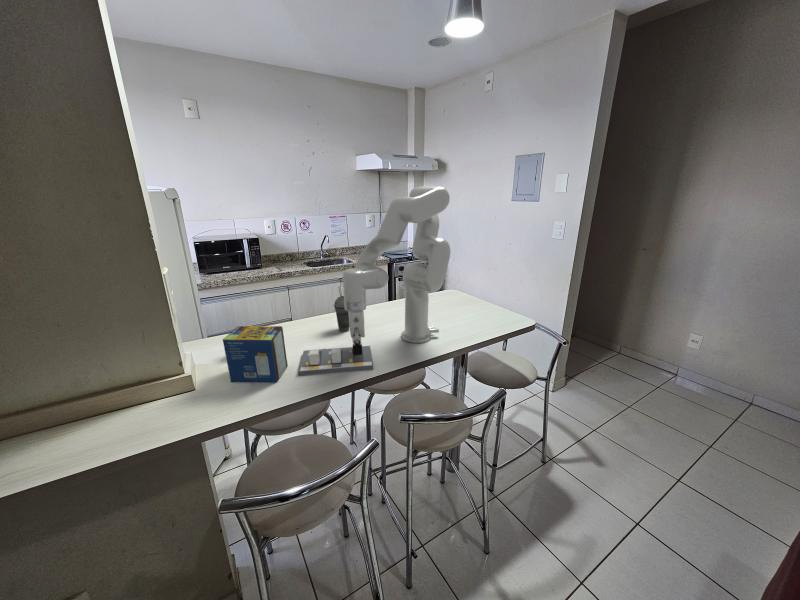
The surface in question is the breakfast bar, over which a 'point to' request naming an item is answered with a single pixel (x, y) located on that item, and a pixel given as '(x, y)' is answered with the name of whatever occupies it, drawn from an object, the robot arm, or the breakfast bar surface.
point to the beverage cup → (341, 314)
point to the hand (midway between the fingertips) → (357, 348)
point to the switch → (314, 357)
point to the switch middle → (336, 355)
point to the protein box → (255, 354)
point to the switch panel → (347, 363)
